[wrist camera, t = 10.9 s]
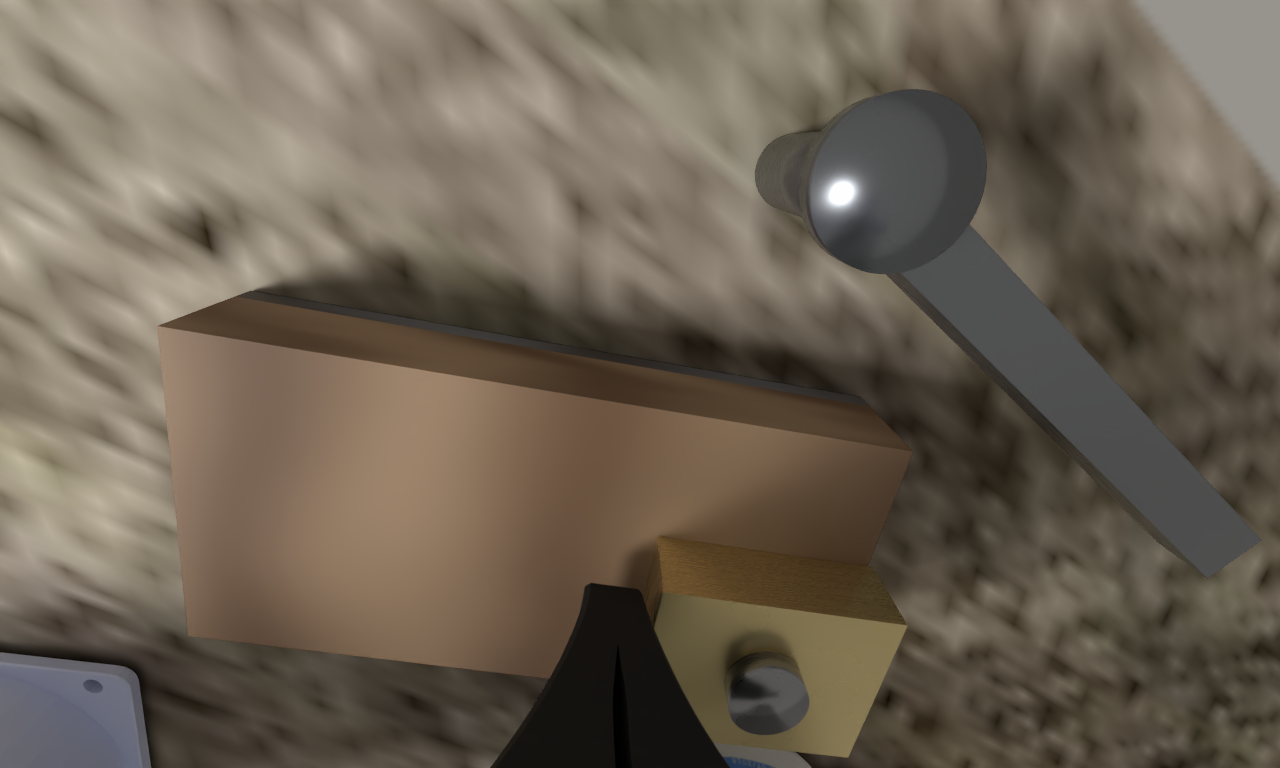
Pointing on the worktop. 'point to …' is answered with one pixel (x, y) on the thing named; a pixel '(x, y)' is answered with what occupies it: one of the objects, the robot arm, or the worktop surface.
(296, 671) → the worktop surface
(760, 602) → the yellow rectangular block
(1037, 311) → the lever
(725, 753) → the supplement tub
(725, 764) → the robot arm
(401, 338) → the body
